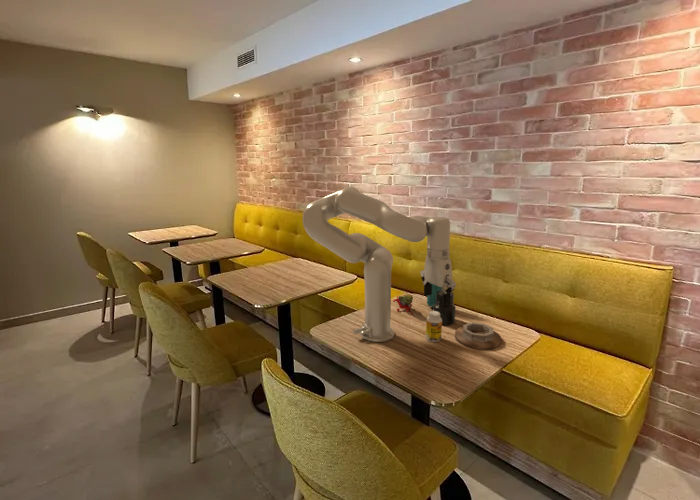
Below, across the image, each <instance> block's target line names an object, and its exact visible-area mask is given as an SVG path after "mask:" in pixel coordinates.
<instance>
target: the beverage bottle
mask: <svg viewBox="0 0 700 500" xmlns="http://www.w3.org/2000/svg"><path fill="white" fill-rule="evenodd" d="M431 284H432V283H431ZM437 291H442V288H441V287H439V286H437V285H434V284H432V294H431V295H428V296H426V303H427V304H426V305H427V306H429V307H432V308H433V305H434V304H435V303H436V293H437Z"/></svg>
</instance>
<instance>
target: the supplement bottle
mask: <svg viewBox="0 0 700 500" xmlns="http://www.w3.org/2000/svg"><path fill="white" fill-rule="evenodd" d="M425 322H426V323H425V339H426V340H427V341H429V342H433V343H436V342H439V341H441V340H442V329H443V325H442V319H441V318H440V313H439V312H437V311H433V310H431V311H429V312H428V316H427V317H426V321H425Z"/></svg>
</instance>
